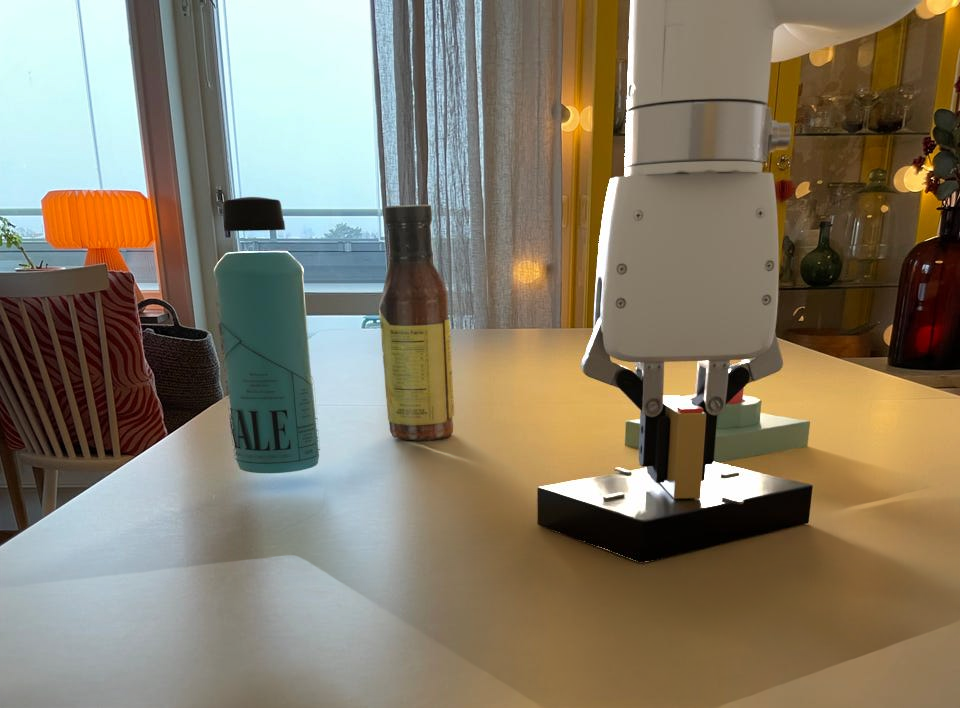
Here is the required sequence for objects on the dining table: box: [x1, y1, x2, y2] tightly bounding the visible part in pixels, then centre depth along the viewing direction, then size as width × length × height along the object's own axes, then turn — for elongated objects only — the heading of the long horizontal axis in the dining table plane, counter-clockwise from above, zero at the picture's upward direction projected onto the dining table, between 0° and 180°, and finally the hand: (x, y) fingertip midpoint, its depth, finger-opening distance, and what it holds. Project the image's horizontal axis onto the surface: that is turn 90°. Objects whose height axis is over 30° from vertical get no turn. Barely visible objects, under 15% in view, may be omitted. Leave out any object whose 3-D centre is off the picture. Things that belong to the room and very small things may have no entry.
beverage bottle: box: [213, 196, 321, 474], centre depth 70 cm, size 6×7×20 cm
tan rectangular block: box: [661, 394, 706, 499], centre depth 60 cm, size 7×2×5 cm, turn 2°
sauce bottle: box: [378, 204, 456, 442], centre depth 87 cm, size 7×6×20 cm
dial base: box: [536, 462, 814, 563], centre depth 61 cm, size 14×11×3 cm
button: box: [694, 383, 745, 404], centre depth 82 cm, size 4×4×2 cm
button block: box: [624, 394, 811, 463], centre depth 83 cm, size 12×10×4 cm
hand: (674, 475), depth 60 cm, fingers closed on tan rectangular block
